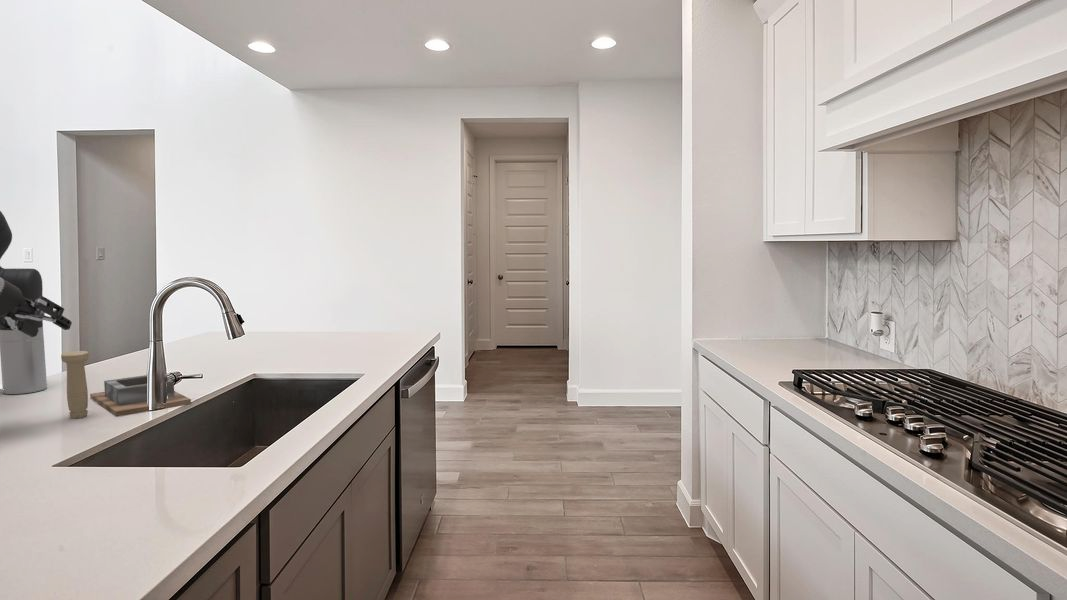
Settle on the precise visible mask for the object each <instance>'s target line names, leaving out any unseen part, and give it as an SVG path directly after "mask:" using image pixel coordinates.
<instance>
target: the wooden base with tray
mask: <svg viewBox="0 0 1067 600" xmlns="http://www.w3.org/2000/svg"><path fill="white" fill-rule="evenodd" d="M147 375H148V374H145V375H138V376H130V377H122V378H116V379H109V380H104V381H103V383H104V384H103V385H104V391H101V392H94V393H90V394H89V395H90V398H89V399H91V400H92V399H93V400H94V401H93V400H92V401H93V402H95V401H96V402H97V404H98V405H99V406H101V407H102V408H104V410H106V411H107V412H108V413H110V414H112V415H113V416H115V417H116V418H117V417H123V416H128V415H134V414H139V413H146V412H150V411H149V406H148V404H147ZM168 379H169V380H168V382H167V396H168V399H167V402H166V403H163V404H158V405H159V406H162V405H163V406H164V407H163V409H167V408H174V407H180V406H185V405H191V404H192V399H191V398H189V397H188V396H185V395H184V394H182V393H180V392H178V391H175V382H174V381H173V380H172V379H170V378H168ZM96 402H95V403H96ZM158 405H157V406H158ZM160 408H161V407H160Z"/></svg>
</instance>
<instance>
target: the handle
mask: <svg viewBox="0 0 1067 600" xmlns="http://www.w3.org/2000/svg"><path fill="white" fill-rule="evenodd" d="M60 355H61V357H60V359H61V361H62V362H63V363H65V364H66V401H67V407H68V410H69V412H68V413H69V417H70V418H71V419H81V418H83V417H87V416H88V413H89V412H88V410H87V409H88V405H89V403H88V402H89V398H88V397H89V394H88V393H89V392H88V391H89V389H88V383H87V377H86V368H85V366H86V365H85V362H86V361H87V360H89V351H86V350H75V351H67V352H64V353H62V354H60Z"/></svg>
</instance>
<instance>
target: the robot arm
mask: <svg viewBox="0 0 1067 600" xmlns="http://www.w3.org/2000/svg"><path fill="white" fill-rule="evenodd" d="M12 240H13V232H12V229H11V227H10V226H9V223H8V221H7V219H6V217H5V215H4V214H3V211H1V210H0V260H1V259H2V258H3V256H4V255H5V253H6V252H7V250H8V249H9V247H10V245H11V243H12ZM64 311H65V308H64V307H62V306H61V305H59V304H57V303H55V302H53V301H52V300H50V299H49V298H47V297H44V296H43V278H42V275H41V273H40V271H39V270H38V269H35V268H4V267H2V266H1V265H0V369H1V372H0V373H1V384H2V386H1V387H2V393H3V394H5V395H21V394H29V393H36V392H40V391H44V390H46V389H47V388H48V383H47V381H48V380H47V368H46V366H47V365H46V364H47V363H46V353H45V339H44V338H45V337H44V322H43V321H46V322H50V323H52V324H53V325H55V326H58V327H59V328H61V329H62V330H64V331H67V330H70V328H71V326H72V321H71V320H70V319H69V318H67V317H66V316H63V313H64ZM45 314H46V315H45ZM47 315H49V316H47ZM3 389H4V390H3Z"/></svg>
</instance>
